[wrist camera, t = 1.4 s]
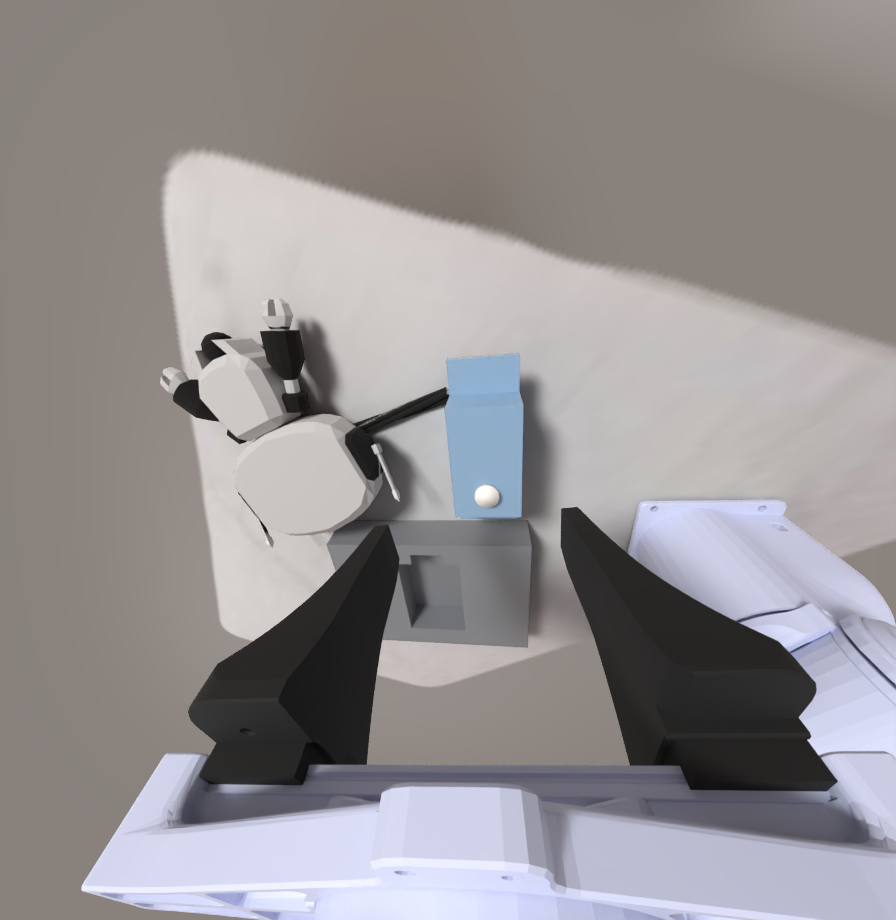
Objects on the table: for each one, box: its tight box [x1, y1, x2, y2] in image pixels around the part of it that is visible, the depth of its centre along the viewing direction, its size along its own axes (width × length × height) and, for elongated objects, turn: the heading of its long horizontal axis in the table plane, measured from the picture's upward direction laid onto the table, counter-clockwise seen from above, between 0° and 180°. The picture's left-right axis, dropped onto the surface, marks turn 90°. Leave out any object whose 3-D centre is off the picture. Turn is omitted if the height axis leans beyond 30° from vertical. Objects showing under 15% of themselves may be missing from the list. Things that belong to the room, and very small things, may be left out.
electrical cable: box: [353, 387, 450, 433], centre depth 23 cm, size 12×1×1 cm, turn 113°
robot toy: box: [160, 299, 400, 548], centre depth 22 cm, size 12×4×15 cm
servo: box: [445, 353, 523, 519], centre depth 20 cm, size 4×11×6 cm, turn 5°
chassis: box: [327, 521, 532, 648], centre depth 28 cm, size 16×12×3 cm
